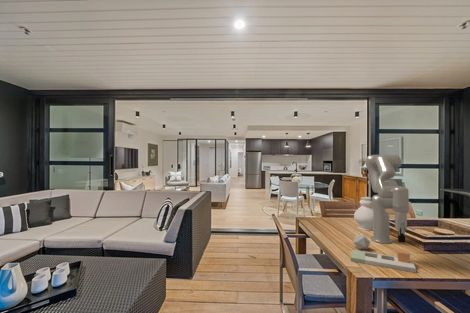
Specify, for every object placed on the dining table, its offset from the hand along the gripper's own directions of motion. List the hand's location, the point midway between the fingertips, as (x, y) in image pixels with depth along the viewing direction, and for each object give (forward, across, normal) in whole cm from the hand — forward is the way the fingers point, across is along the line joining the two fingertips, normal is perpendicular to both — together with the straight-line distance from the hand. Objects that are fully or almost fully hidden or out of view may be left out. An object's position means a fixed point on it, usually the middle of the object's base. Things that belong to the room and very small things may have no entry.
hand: (401, 242), depth 135 cm
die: (+9, -8, -20) cm, 24 cm away
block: (+8, +7, 0) cm, 10 cm away
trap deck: (+10, +9, -11) cm, 17 cm away
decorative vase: (+8, -60, -17) cm, 63 cm away
